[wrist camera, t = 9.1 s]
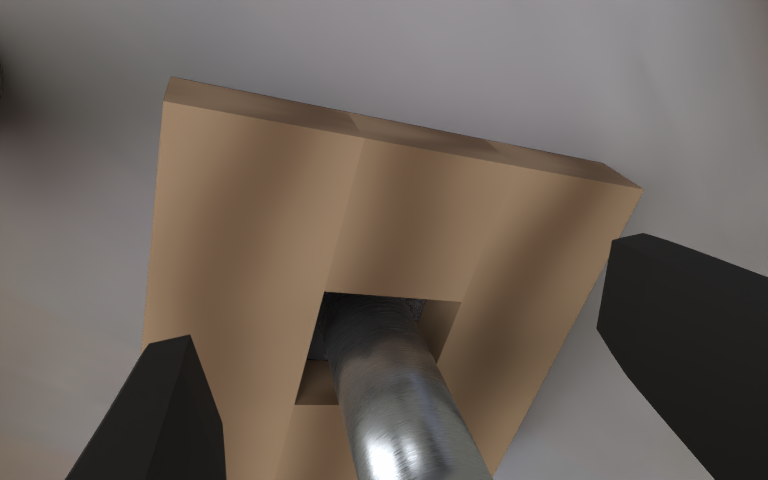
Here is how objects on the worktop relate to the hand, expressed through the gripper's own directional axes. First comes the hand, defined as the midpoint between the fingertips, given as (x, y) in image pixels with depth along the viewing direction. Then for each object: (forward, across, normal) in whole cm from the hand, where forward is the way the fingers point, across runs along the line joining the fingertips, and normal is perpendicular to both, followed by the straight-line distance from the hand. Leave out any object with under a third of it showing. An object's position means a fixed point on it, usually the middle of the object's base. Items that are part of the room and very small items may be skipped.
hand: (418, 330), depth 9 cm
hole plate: (+10, 0, +8) cm, 13 cm away
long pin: (+10, 0, +8) cm, 13 cm away
